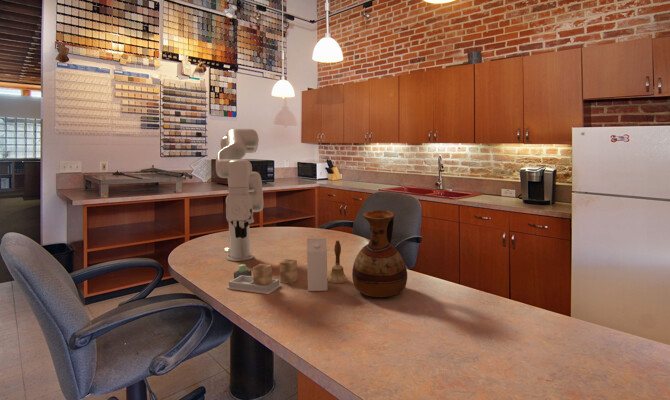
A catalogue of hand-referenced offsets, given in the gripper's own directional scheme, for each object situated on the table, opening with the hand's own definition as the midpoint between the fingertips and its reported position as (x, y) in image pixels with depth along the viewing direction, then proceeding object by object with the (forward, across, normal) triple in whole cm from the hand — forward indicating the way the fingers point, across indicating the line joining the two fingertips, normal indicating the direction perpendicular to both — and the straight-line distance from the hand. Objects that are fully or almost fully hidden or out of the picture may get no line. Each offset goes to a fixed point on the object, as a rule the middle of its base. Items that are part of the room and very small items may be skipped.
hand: (241, 237), depth 158 cm
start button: (+16, 0, 0) cm, 16 cm away
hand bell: (+17, +37, +10) cm, 42 cm away
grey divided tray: (+17, +10, -8) cm, 21 cm away
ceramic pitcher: (+17, +56, +3) cm, 59 cm away
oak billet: (+17, +19, +4) cm, 26 cm away
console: (+17, 0, 0) cm, 17 cm away
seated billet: (+17, +14, -8) cm, 23 cm away
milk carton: (+17, +33, 0) cm, 37 cm away
